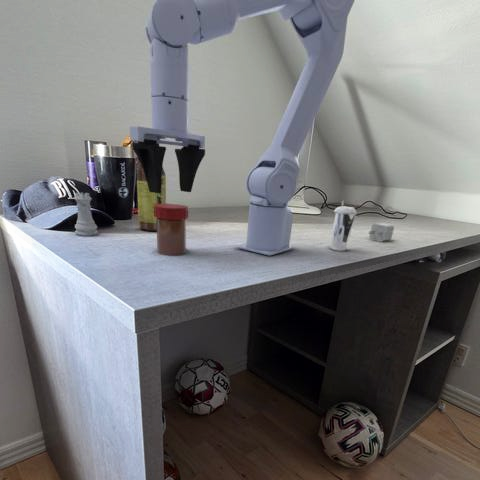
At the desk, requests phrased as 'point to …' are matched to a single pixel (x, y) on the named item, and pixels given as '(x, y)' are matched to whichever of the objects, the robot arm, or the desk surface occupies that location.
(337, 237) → the milkshake
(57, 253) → the desk surface
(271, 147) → the robot arm
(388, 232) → the usb wall charger
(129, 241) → the desk surface
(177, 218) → the cap
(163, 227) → the jar
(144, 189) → the sauce bottle
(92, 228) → the rook chess piece
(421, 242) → the desk surface
